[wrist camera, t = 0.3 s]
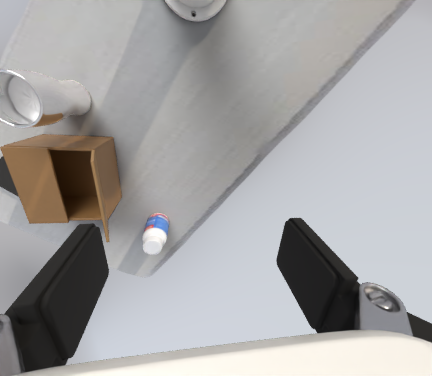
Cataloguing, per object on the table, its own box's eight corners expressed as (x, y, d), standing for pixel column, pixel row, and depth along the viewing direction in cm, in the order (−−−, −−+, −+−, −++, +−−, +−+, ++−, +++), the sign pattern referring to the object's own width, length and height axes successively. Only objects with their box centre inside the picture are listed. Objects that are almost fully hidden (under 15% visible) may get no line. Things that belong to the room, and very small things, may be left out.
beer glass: (60, 118, 38) (-7, 131, 25) (46, 76, 36) (-39, 66, 22) (98, 116, 39) (53, 128, 26) (88, 76, 36) (31, 66, 23)
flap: (91, 149, 32) (94, 149, 32) (105, 221, 38) (108, 221, 38) (90, 161, 27) (93, 161, 27) (106, 242, 33) (109, 241, 33)
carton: (113, 137, 41) (92, 149, 32) (121, 197, 47) (106, 222, 38) (42, 134, 39) (-1, 146, 30) (61, 197, 45) (29, 223, 36)
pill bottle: (154, 208, 50) (147, 233, 41) (173, 218, 51) (170, 243, 43) (143, 224, 51) (134, 251, 42) (162, 233, 53) (157, 260, 44)
